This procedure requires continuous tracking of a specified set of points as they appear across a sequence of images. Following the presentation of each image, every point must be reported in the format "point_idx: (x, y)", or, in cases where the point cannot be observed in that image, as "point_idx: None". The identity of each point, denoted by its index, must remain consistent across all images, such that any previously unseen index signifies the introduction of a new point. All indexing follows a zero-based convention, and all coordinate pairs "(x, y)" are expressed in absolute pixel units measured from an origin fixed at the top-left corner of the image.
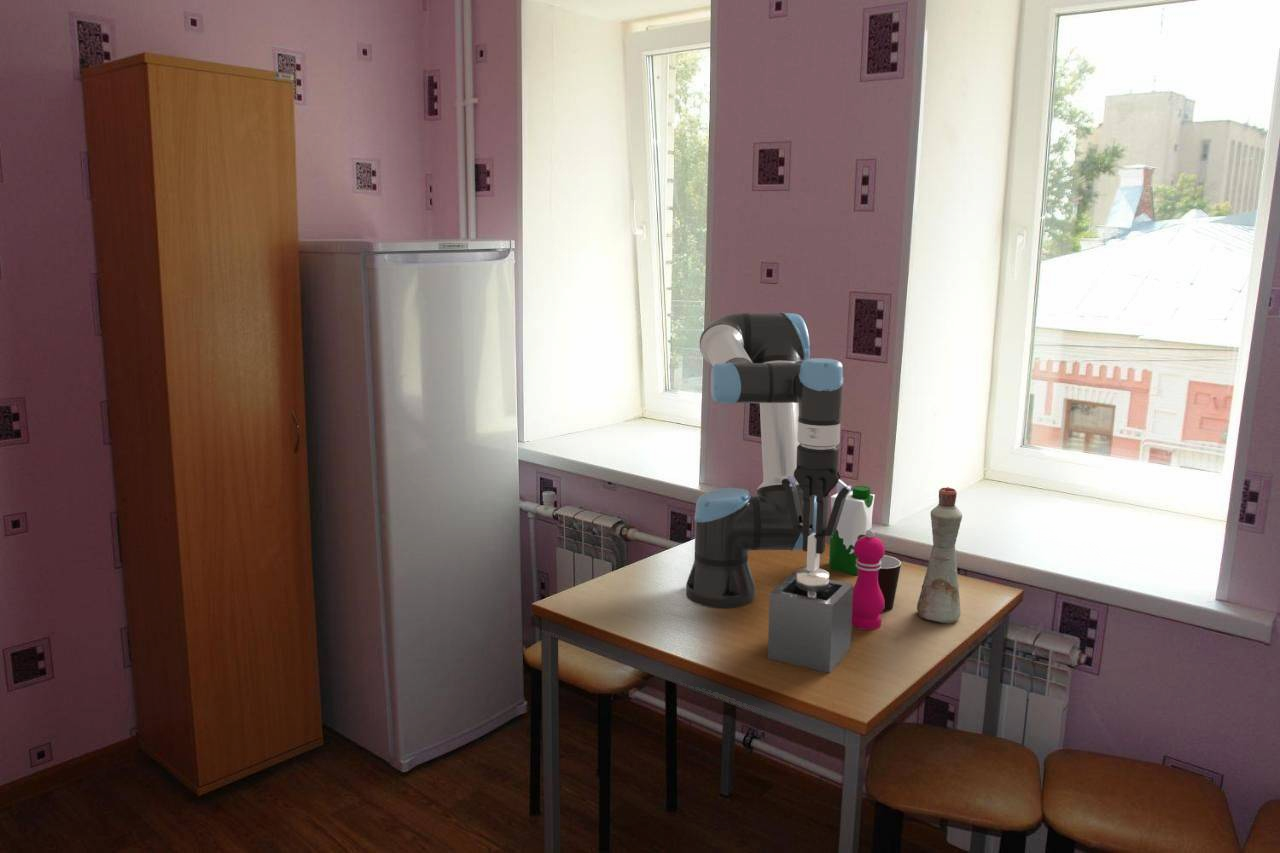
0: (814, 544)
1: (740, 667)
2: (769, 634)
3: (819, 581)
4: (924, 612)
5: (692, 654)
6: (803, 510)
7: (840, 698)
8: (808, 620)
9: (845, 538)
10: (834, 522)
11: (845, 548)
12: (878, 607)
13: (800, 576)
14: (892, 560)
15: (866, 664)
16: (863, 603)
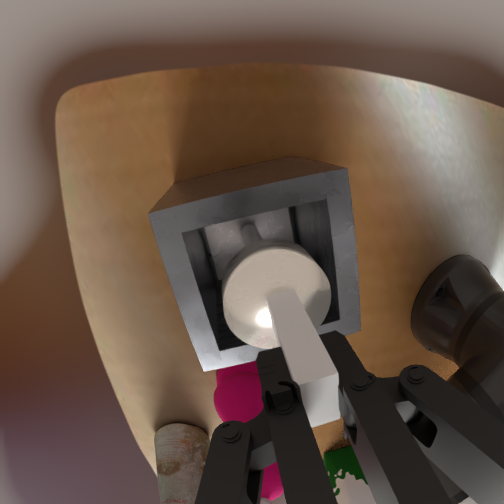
0: (292, 360)
1: (309, 94)
2: (305, 159)
3: (232, 275)
4: (185, 430)
5: (393, 91)
6: (432, 472)
7: (110, 119)
8: (219, 185)
9: (353, 481)
10: (202, 495)
11: (349, 471)
12: (215, 396)
13: (296, 254)
14: None
15: (149, 259)
16: (235, 387)
